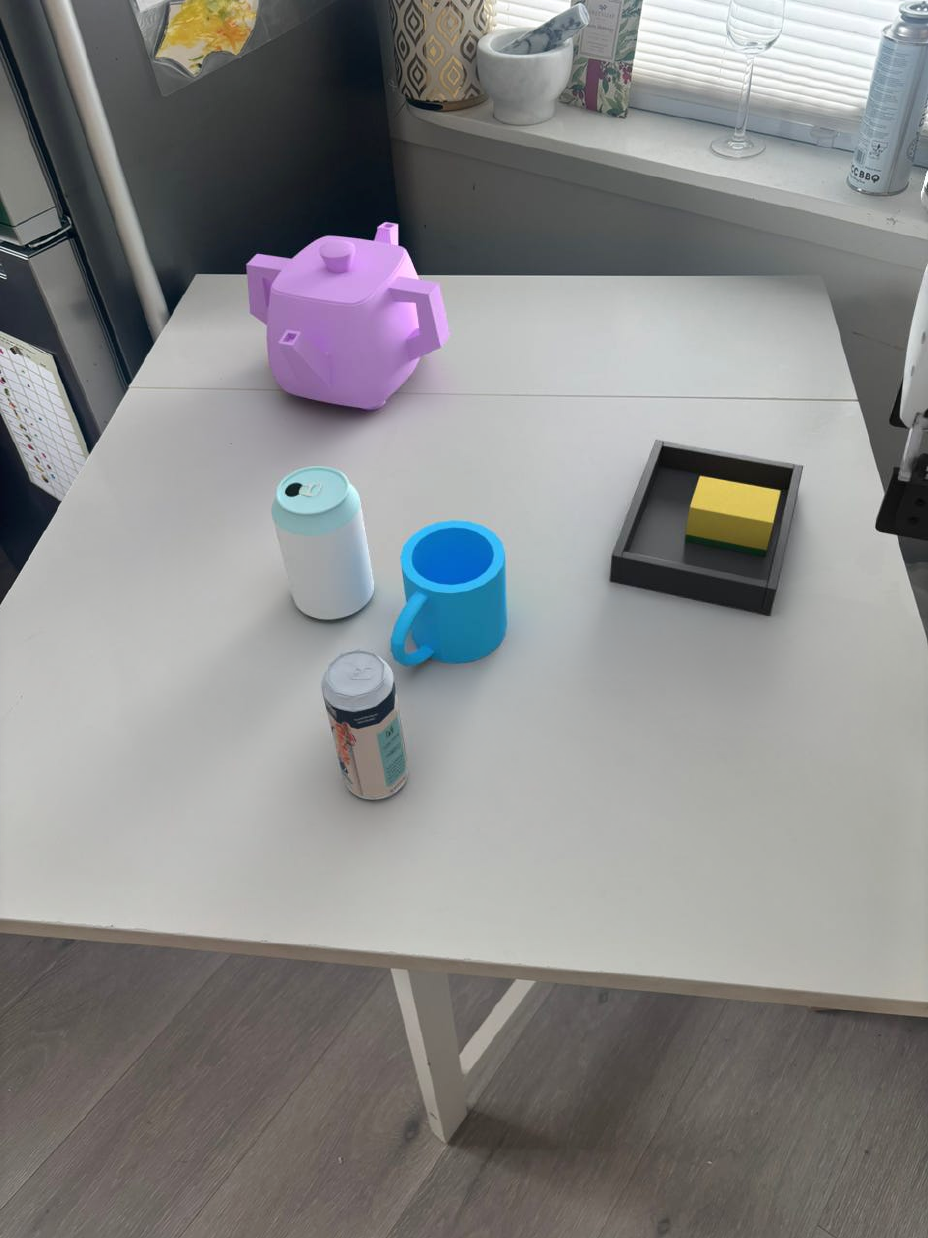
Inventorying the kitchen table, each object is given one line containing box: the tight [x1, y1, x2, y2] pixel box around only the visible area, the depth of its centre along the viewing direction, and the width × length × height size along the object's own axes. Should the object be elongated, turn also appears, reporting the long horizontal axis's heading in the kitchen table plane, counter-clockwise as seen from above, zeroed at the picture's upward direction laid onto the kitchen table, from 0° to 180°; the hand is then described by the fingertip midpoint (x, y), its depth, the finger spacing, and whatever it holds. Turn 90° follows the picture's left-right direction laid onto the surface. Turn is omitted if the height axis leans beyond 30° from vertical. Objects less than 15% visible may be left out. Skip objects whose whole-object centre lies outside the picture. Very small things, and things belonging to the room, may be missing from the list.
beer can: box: [320, 648, 409, 801], centre depth 69 cm, size 5×5×12 cm
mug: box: [390, 519, 508, 667], centre depth 79 cm, size 12×8×8 cm
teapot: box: [245, 221, 451, 411], centre depth 103 cm, size 19×18×15 cm
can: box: [271, 465, 375, 620], centre depth 82 cm, size 7×7×12 cm
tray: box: [609, 439, 804, 617], centre depth 88 cm, size 14×17×3 cm
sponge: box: [685, 476, 781, 557], centre depth 87 cm, size 7×4×4 cm, turn 70°
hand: (910, 477), depth 56 cm, fingers open, 9 cm apart
